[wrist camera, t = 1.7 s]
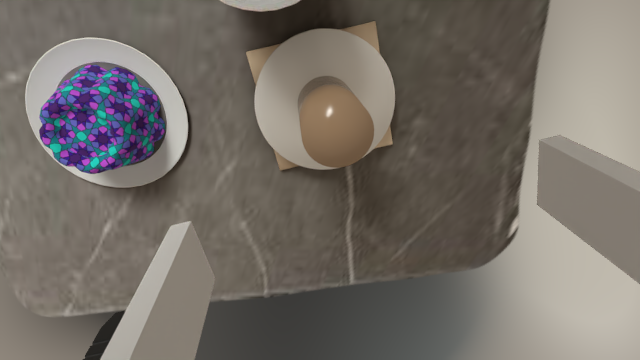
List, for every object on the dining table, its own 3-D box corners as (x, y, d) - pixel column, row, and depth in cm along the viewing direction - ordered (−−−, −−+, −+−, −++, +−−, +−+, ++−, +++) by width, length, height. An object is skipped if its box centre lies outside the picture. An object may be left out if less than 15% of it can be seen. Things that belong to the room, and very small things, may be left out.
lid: (237, 46, 28) (219, 62, 21) (380, 12, 28) (418, 15, 20) (275, 176, 33) (273, 230, 25) (399, 148, 33) (435, 192, 25)
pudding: (113, 208, 34) (85, 240, 29) (-5, 96, 29) (-61, 113, 24) (220, 134, 32) (209, 157, 27) (112, 2, 27) (76, 1, 22)
